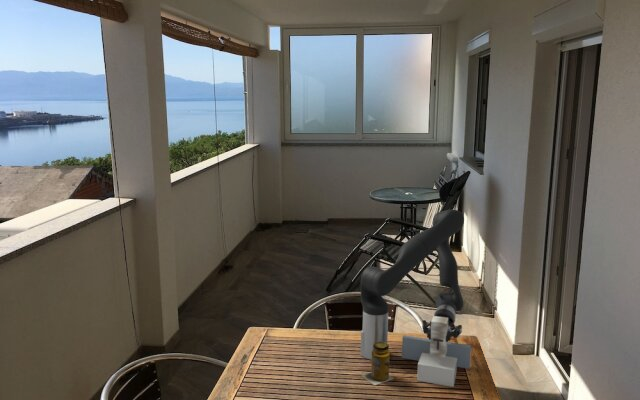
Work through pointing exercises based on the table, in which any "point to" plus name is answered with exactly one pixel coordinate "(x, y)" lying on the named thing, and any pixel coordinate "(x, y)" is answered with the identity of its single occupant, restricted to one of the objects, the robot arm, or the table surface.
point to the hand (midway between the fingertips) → (438, 337)
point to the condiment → (379, 364)
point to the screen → (417, 346)
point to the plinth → (437, 369)
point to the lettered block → (438, 336)
